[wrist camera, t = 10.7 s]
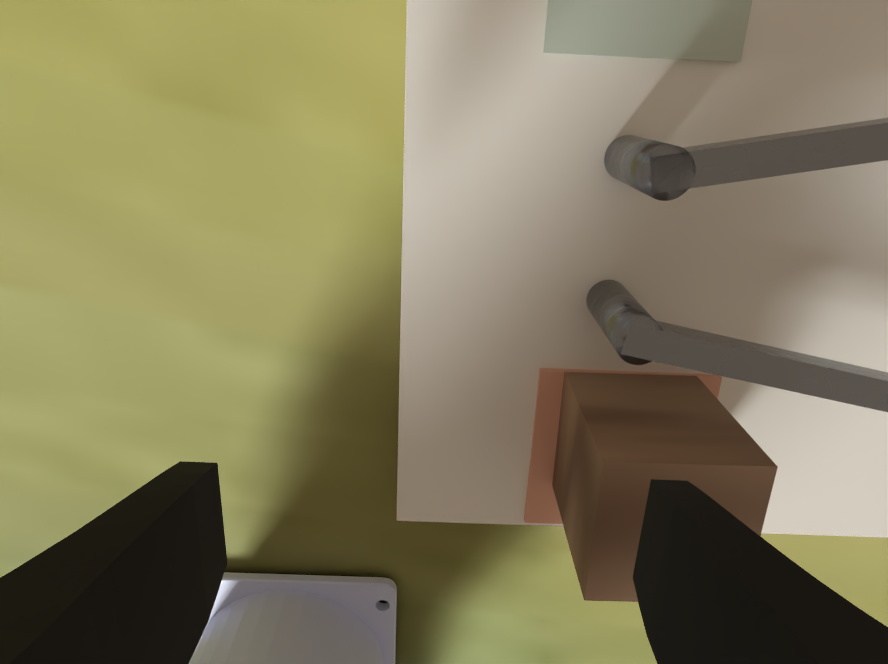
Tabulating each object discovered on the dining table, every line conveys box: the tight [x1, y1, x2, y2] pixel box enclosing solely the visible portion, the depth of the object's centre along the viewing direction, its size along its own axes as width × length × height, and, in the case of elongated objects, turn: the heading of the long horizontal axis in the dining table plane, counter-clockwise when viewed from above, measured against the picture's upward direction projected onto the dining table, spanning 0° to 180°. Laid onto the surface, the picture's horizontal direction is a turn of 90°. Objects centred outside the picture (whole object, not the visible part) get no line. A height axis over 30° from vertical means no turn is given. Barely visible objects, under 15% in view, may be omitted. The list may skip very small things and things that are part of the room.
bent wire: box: [586, 118, 888, 412], centre depth 16 cm, size 8×9×4 cm
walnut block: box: [552, 372, 778, 602], centre depth 18 cm, size 4×4×5 cm
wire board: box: [397, 0, 888, 537], centre depth 19 cm, size 20×18×2 cm
